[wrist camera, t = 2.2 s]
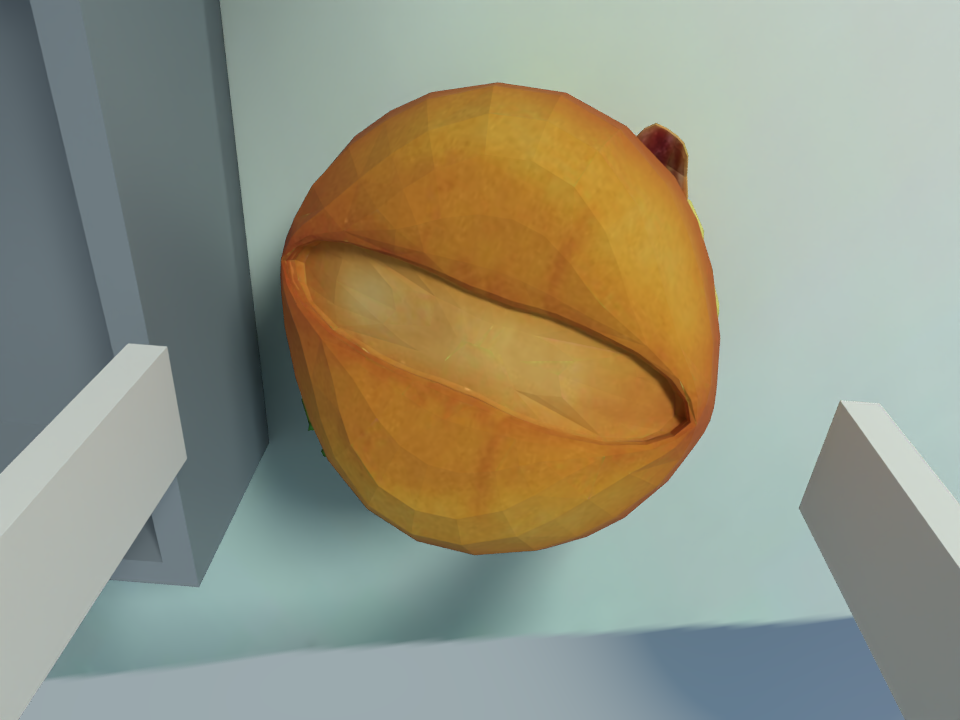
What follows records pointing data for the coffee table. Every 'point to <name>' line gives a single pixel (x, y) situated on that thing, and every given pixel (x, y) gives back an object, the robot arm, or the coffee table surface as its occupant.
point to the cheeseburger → (502, 317)
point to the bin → (129, 245)
